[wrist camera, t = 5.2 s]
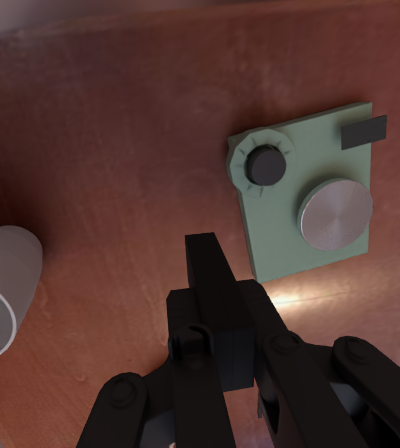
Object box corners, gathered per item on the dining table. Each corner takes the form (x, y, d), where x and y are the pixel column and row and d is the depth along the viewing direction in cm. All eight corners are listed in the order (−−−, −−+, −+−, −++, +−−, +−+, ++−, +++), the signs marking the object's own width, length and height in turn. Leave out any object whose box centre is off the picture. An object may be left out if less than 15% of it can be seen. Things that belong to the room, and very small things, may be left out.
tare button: (243, 152, 24) (248, 155, 23) (277, 143, 24) (284, 145, 23) (248, 185, 25) (254, 190, 24) (280, 176, 25) (288, 181, 24)
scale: (215, 134, 26) (224, 140, 23) (358, 96, 27) (386, 96, 24) (244, 277, 33) (254, 296, 30) (357, 244, 34) (378, 259, 31)
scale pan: (289, 140, 24) (293, 142, 23) (385, 114, 24) (392, 115, 24) (300, 255, 29) (303, 259, 28) (379, 232, 29) (385, 235, 28)
